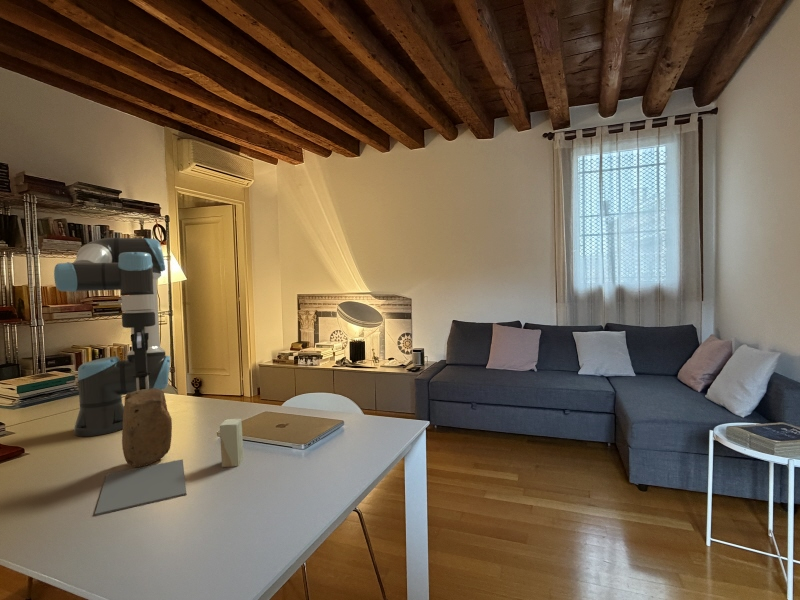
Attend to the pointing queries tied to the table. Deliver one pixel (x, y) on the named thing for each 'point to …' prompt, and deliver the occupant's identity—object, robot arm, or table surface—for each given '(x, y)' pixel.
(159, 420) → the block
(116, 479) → the mat
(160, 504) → the table surface
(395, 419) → the table surface
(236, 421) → the box
